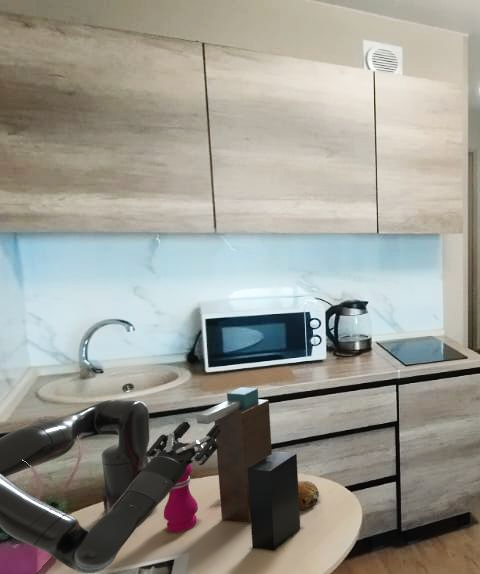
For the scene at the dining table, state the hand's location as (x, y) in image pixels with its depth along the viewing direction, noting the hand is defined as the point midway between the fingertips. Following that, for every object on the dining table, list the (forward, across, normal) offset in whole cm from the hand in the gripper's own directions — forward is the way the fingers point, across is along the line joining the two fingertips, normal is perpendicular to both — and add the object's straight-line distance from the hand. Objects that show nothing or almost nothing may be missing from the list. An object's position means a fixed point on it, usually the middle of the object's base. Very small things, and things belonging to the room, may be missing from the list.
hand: (203, 424), depth 145 cm
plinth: (-5, 0, -34) cm, 34 cm away
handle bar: (+7, 0, -4) cm, 8 cm away
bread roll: (+1, +11, -37) cm, 39 cm away
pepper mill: (-13, -12, -29) cm, 34 cm away
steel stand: (-14, +16, -29) cm, 36 cm away
